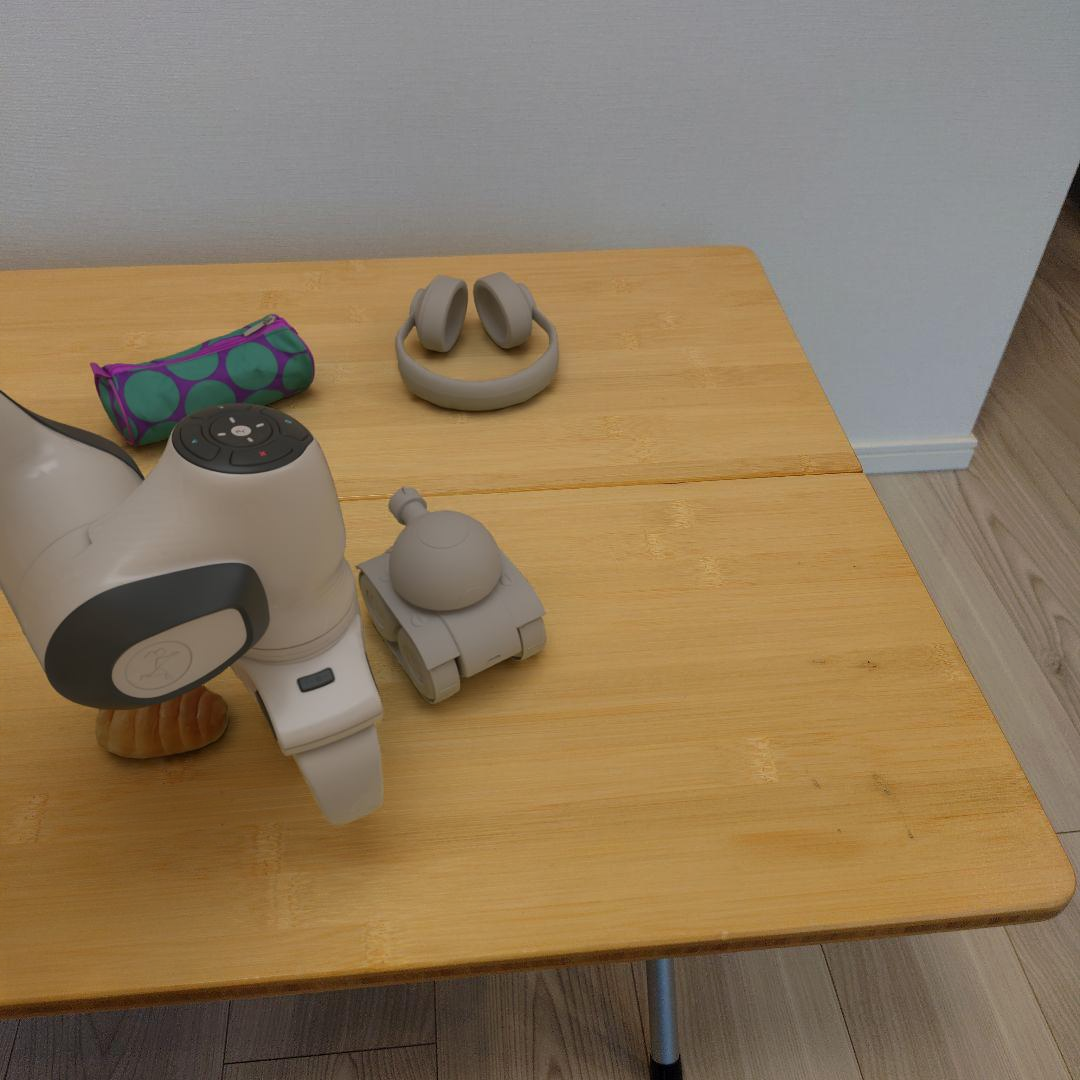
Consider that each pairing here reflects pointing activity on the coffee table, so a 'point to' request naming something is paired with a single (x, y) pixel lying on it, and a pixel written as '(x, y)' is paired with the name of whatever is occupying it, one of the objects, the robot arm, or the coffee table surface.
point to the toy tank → (448, 598)
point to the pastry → (164, 726)
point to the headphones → (505, 321)
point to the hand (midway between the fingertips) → (324, 745)
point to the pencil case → (205, 379)
